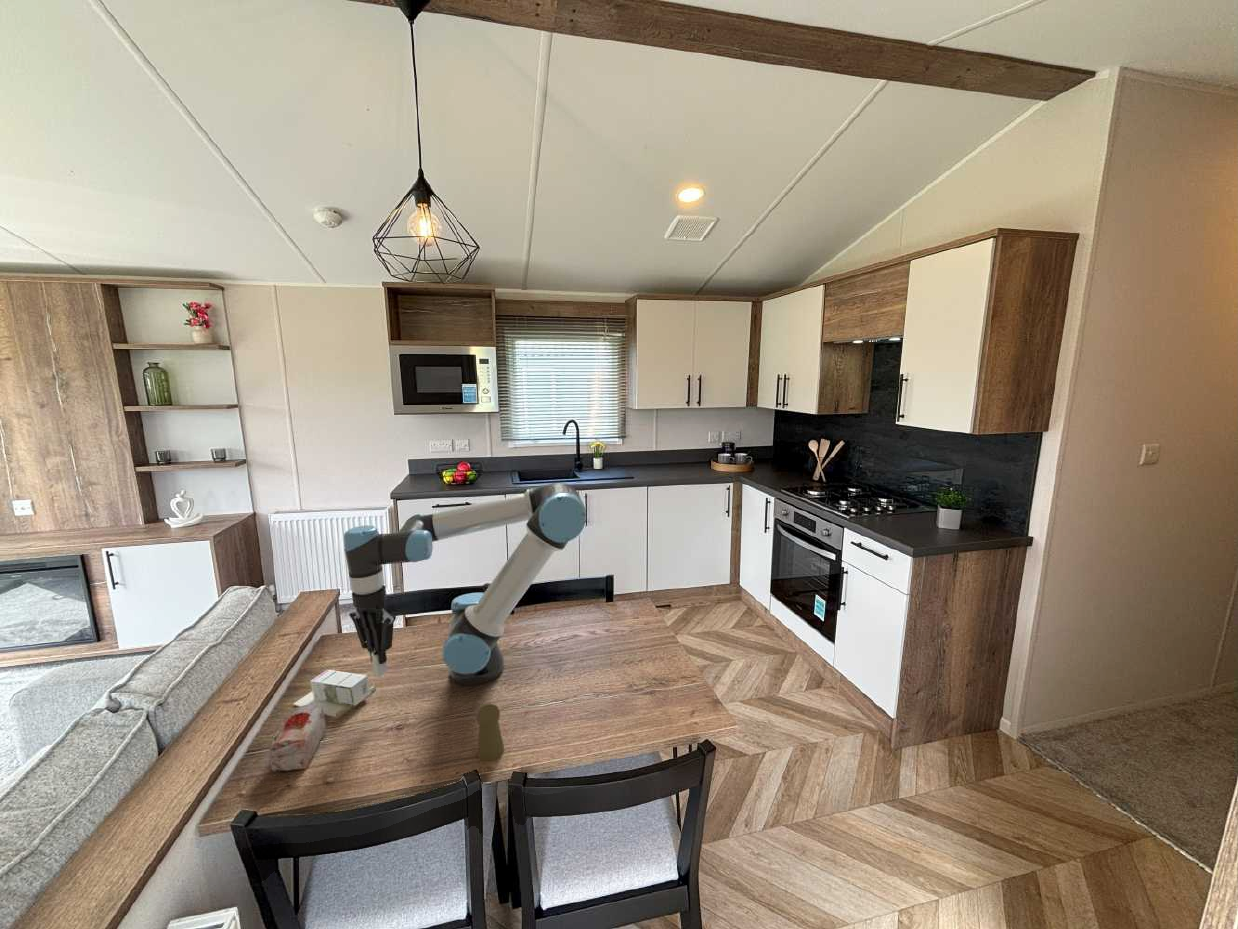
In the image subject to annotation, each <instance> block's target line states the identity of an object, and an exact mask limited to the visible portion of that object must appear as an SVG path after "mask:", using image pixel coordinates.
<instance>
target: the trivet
mask: <svg viewBox="0 0 1238 929" xmlns="http://www.w3.org/2000/svg"><path fill="white" fill-rule="evenodd" d="M376 690H377V689H376V685H372V686H370V691H371V694H373V693H374V692H375V691H376ZM292 704H293V706H295V707H299V706H303V705H308V704H313V705H316V704H317V705H321V706H322V708H323V713H324V715H327V716H330V717H333V718H336V719H340V718H341V717H342V716H344V715H345V714H347V712H349V711H350V710H352V708H354V707H355V706H349V705H343V704H338V703H332V702H326V701H320V700H314V696H313V692H312V691H311V692H309V693H307V694H306V695H304V696H303V697H301V698H299V699H298V700H297V701H295V702H294V703H292Z"/></svg>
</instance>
